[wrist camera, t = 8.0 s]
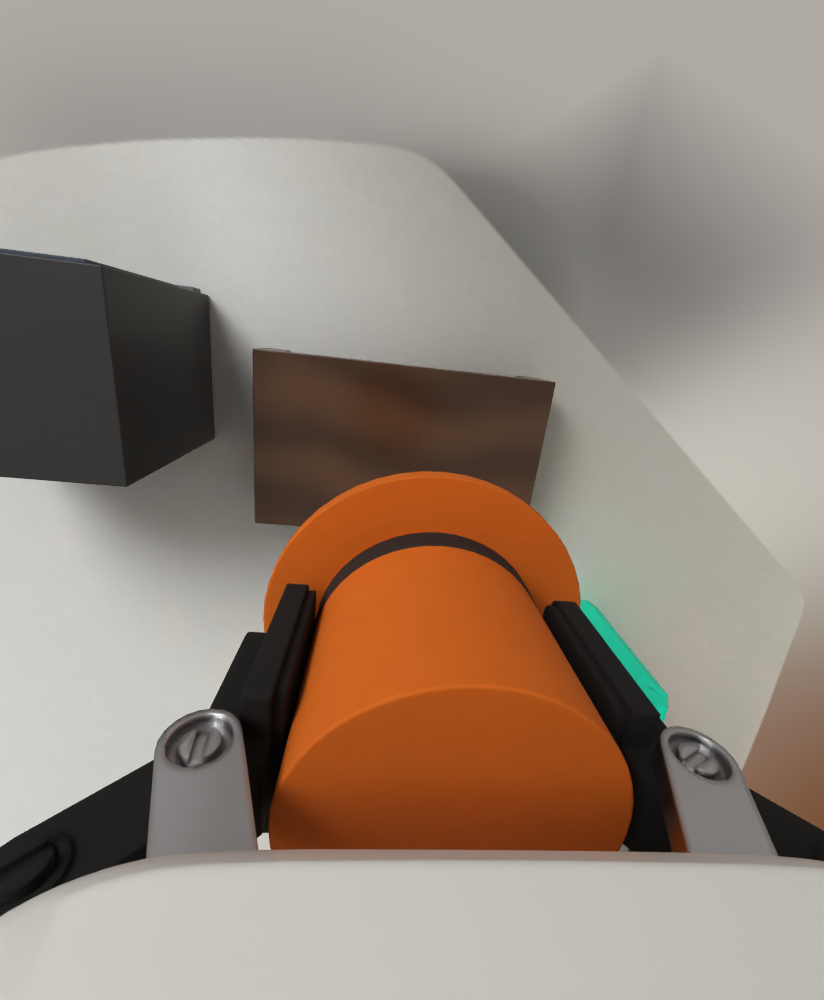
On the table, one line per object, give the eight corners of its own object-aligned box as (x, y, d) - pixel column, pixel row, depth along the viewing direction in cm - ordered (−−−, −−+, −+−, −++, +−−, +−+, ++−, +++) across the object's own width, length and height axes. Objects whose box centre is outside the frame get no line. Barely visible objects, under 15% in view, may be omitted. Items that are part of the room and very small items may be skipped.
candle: (539, 655, 42) (596, 769, 31) (540, 602, 40) (602, 704, 29) (599, 648, 42) (679, 759, 31) (603, 595, 40) (690, 694, 29)
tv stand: (268, 348, 31) (252, 348, 27) (536, 378, 33) (556, 382, 29) (268, 503, 35) (254, 523, 31) (507, 522, 37) (521, 542, 33)
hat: (267, 455, 11) (139, 569, 5) (607, 486, 12) (816, 613, 6) (267, 730, 14) (184, 997, 8) (539, 739, 15) (638, 987, 9)
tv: (-14, 263, 28) (-277, 209, 17) (208, 290, 30) (100, 257, 18) (17, 420, 32) (-186, 462, 20) (214, 438, 33) (127, 487, 22)
